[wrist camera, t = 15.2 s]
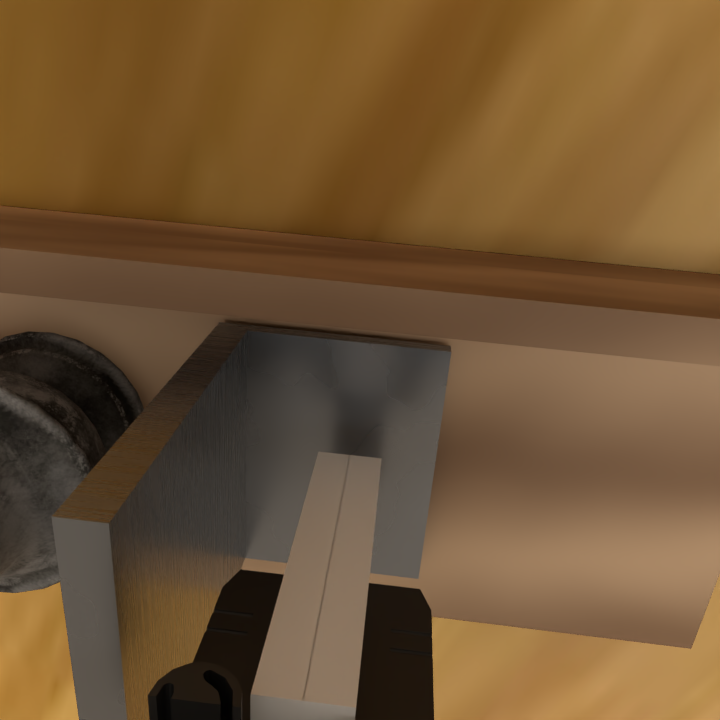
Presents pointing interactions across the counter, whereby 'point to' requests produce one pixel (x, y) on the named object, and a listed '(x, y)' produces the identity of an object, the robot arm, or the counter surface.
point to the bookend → (234, 491)
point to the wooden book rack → (452, 396)
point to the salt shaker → (51, 442)
